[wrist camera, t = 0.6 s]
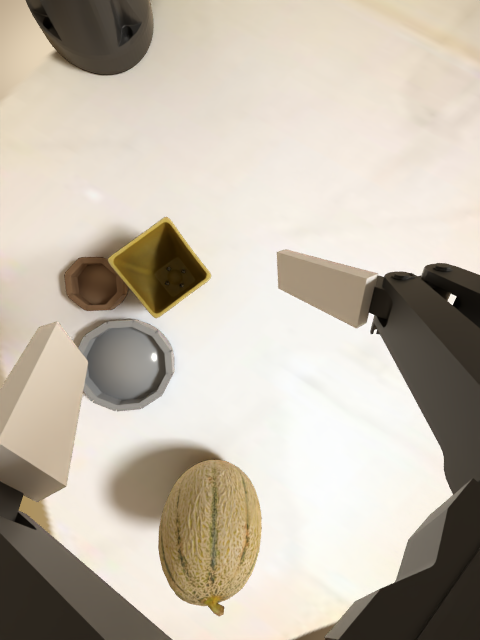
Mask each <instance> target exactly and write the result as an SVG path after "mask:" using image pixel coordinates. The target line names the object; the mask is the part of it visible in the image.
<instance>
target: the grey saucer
mask: <svg viewBox="0 0 480 640" xmlns="http://www.w3.org/2000/svg"><path fill="white" fill-rule="evenodd" d="M78 349H79V350H80V352H81V353H82V354H83V355H84V357H85V358H86V359H87V361H88V366H87V372H86V377H85V383H84V389H83V392H84V393H85V394H86V395H87V397H88V398H89V399H90V400H91V401H93V400H94V401H93V403H96V404H98V405H101V406H103V407H106V408H108V409H111V410H113V411H116V410H117V411H126V410H136V409H141V408H144V407H145V406H147V405H148V404H150V403H151V402H153V401H154V400H156V399H157V398H159V397H160V396H162V395H163V393H164V391H165V389H166V387H167V385H168V383H169V381H170V379H171V377H172V375H173V373H174V353H173V350H172V347H171V345H170V343H169V341H168V340H167V338H166V337H165V336H164V335H163V334H162V333H161V332H160V331H159V330H158V329H156V328H155V327H153V326H152V325H150V324H147V323H145V322H142V321H139V320H136V319H134V320H114V321H108V322H105V323H103V324H102V325H100V326H99V327H97V328H95V329H94V330H92V331H91V332H89V333H87V334H86V335H85V336H84V337H83V339H82V341H81V343H80V345H79V347H78Z"/></svg>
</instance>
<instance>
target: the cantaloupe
mask: <svg viewBox="0 0 480 640" xmlns="http://www.w3.org/2000/svg"><path fill="white" fill-rule="evenodd" d="M261 519H262V518H261V511H260V505H259V501H258V497H257V494H256V491H255V489H254V486H253V485H252V483H251V481H250V479H249V478H248V477H247V475H246V474H245V473H244V472H242V470H240V469H239V468H238V467H236V466H235V465H233V464H231V463H229V462H227V461H222V460H207V461H203V462H200V463H198V464H196V465H194V466H193V467H191V468H189V469H188V470H187V471H186V472H184V473H183V474H182V475H181V477H180V478H179V479H178V480H177V482H176V483H175V484H174V486H173V488H172V490H171V492H170V494H169V496H168V499H167V501H166V504H165V506H164V509H163V513H162V516H161V522H160V526H159V545H158V549H159V556H160V561H161V565H162V569H163V572H164V574H165V576H166V578H167V581H168V583H169V585H170V587H171V588H172V589H173V591H174V592H175V594H176V595H177V596H178V597H179V598H180V599H182V600H183V601H186V602H187V603H189V604H194V605H200V606H207V605H208V607H209V608H210V609H211V610H212V611H213V613H215V614H216V615H218V616H221V615H223V613H224V606H222V605H220V604H218V603H219V602H222V601H225V600H227V599H229V598H230V597H232V596H233V595H235V594H236V593H238V592H239V591H240V590H241V589H242V588H243V586H244V585H245V584H246V582H247V580H248V579H249V577H250V576H251V574H252V572H253V569H254V566H255V563H256V560H257V556H258V553H259V547H260V539H261V529H262V527H261Z"/></svg>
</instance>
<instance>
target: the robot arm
mask: <svg viewBox="0 0 480 640" xmlns="http://www.w3.org/2000/svg"><path fill="white" fill-rule="evenodd" d="M26 2H27V5H28V7H29V9H30V11H31V13H32V15H33V16H34V18H35V20H36V21H37V23H38V25H39V26H40V28H41V29H42V31H43V33H44V34H45V36H46V37H47V39H48V40H49V42H50V43H51V44H52V46H53V47H54V48H55V49H56V50H57V51H58V52H59V53H60V54H61V55H62V56H63V57H64V58H65V59H67V60H68V61H69V62H71V63H72V64H74V65H75V66H77V67H79V68H81V69H84V70H86V71H89V72H93V73H97V74H116V73H120V72H123V71H126V70H128V69H130V68H132V67H133V66H135V65H136V64H137V63H138V62H139V61H140V60H141V59H142V58H143V57H144V55H145V54H146V52H147V50H148V48H149V46H150V43H151V40H152V35H153V14H152V9H151V4H150V0H26ZM277 267H278V288H279V289H281V290H283V291H285V292H287V293H289V294H290V295H292V296H294V297H296V298H298V299H300V300H302V301H304V302H306V303H308V304H310V305H312V306H314V307H316V308H318V309H320V310H322V311H324V312H326V313H328V314H329V315H331V316H333V317H335V318H337V319H339V320H341V321H343V322H345V323H347V324H349V325H351V326H353V327H355V328H358V327H360V326H362V325H364V324H365V323H367V318H368V314H369V313H371V314H374V319H373V323H372V327H371V331H370V333H371V334H373V332H374V330H375V329H377V333H376V334H380V335H381V337H382V339H383V341H384V342H385V344H386V346H387V348H388V350H389V352H390V354H391V355H392V357H393V359H394V361H395V363H396V365H397V367H398V368H399V370H400V372H401V374H402V376H403V378H404V380H405V382H406V383H407V385H408V387H409V389H410V391H411V393H412V395H413V396H414V398H415V400H416V402H417V404H418V406H419V408H420V409H421V411H422V413H423V415H424V417H425V419H426V421H427V423H428V424H429V426H430V428H431V430H432V432H433V434H434V436H435V437H436V439H437V441H438V443H439V445H440V447H441V449H442V451H443V455H444V472H445V476H446V480H447V482H448V484H449V487H450V489H451V491H452V493H453V496H451V497H450V498H449V499H448V500H447V501H446V502H444V503H443V504H442V505H441V506H440V507H439V508H437V509H436V510H435V511H434V512H433V513H432V514H430V515H429V516H428V518H427V519H426V520H425V521H424V522H423V523H422V525H421V526H420V527H419V528H418V529H417V530H416V532H415V533H414V534H413V535H412V536H411V537H410V538H409V540H408V542H407V546H406V549H405V552H404V556H403V559H402V562H401V566H400V569H399V572H398V575H397V579H396V581H395V583H393V584H390V585H388V586H386V587H384V588H381V589H379V590H377V591H375V592H373V593H371V594H369V595H367V596H365V597H363V598H361V599H359V600H357V601H355V602H354V603H353V605H352V606H351V607H350V608H349V609H348V610H347V612H346V613H345V614H344V615H343V616H342V617H341V618H340V620H339V621H338V622H337V623H336V624H335V625H334V627H333V628H332V629H331V630H330V631H329V632H328V634H327V635H326V636H325V637H324V638H325V640H480V275H478V274H475V273H473V272H470V271H467V270H464V269H462V268H459V267H456V266H452V265H449V264H445V263H436V264H430V265H427V266H425V268H424V270H423V273H422V276H416V275H414V274H412V273H407V272H390V273H387V274H386V275H385V276H384V277H382V276H378V273H374V272H370V271H366V270H362V269H359V268H355V267H351V266H347V265H343V264H340V263H336V262H332V261H328V260H324V259H320V258H317V257H313V256H309V255H305V254H301V253H298V252H294V251H290V250H286V249H285V250H282V251H279V252H277ZM450 294H453V295H455V296H457V297H456V299H455V302H454V304H453V306H452V305H451V304H450V303H449V302H448V298H449V296H450ZM87 366H88V361H87V359H86V358H85V357H84V355H83V354H82V353H81V352H80V350H79V349H78V348H77V346H76V345H75V344H74V342H73V341H72V340H71V338H70V337H69V336H68V334H67V333H66V332H65V330H64V329H63V328H62V327H61V325H60V324H59V323H58V321H57V322H54V323H51V324H48V325H44V326H41V327H39V328H38V329H37V331H36V333H35V334H34V336H33V337H32V339H31V341H30V342H29V344H28V345H27V347H26V349H25V350H24V352H23V353H22V355H21V357H20V358H19V360H18V361H17V363H16V365H15V366H14V368H13V369H12V371H11V373H10V374H9V376H8V377H7V379H6V381H5V382H4V384H3V385H2V387H1V389H0V640H172V639H171V638H170V637H169V636H167V635H166V634H165V633H164V632H163V631H162V630H160V629H159V628H158V627H157V626H156V625H155V624H154V623H152V622H151V621H150V620H149V619H148V618H147V617H145V616H144V615H143V614H142V613H141V612H140V611H138V610H137V609H136V608H135V607H134V606H133V605H131V604H130V603H129V602H128V601H127V600H126V599H124V598H123V597H122V596H121V595H120V594H119V593H117V592H116V591H115V590H114V589H113V588H112V587H111V586H109V585H108V584H107V583H106V582H105V581H104V580H102V579H101V578H100V577H99V576H98V575H97V574H95V573H94V572H93V571H92V570H91V569H90V568H88V567H87V566H86V565H85V564H84V563H83V562H81V561H80V560H79V559H78V558H77V557H76V556H74V555H73V554H72V553H71V552H70V551H69V550H68V549H66V548H65V547H64V546H63V545H62V544H61V543H59V542H58V541H57V540H56V539H55V538H54V537H52V536H51V535H50V534H49V533H48V532H46V531H45V530H44V529H43V528H42V527H41V526H40V525H38V524H37V523H36V522H35V521H34V520H33V519H31V518H30V517H29V516H28V515H27V514H25V513H23V512H20V511H18V510H19V507H20V504H21V501H22V497H23V495H24V496H26V497H28V498H30V499H32V500H34V501H36V502H39V501H40V500H42V499H44V498H46V497H48V496H50V495H51V494H53V493H55V492H57V491H59V490H61V489H62V488H64V487H66V486H67V480H68V474H69V469H70V463H71V457H72V451H73V446H74V440H75V434H76V429H77V423H78V417H79V412H80V406H81V400H82V394H83V389H84V383H85V377H86V372H87Z"/></svg>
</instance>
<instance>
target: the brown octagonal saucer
mask: <svg viewBox="0 0 480 640" xmlns="http://www.w3.org/2000/svg"><path fill="white" fill-rule="evenodd" d="M65 274H66V275H64V277H65V285H66V293H67V295H69V296H68V297H69V298H70V299H71V300H72V301H74V302H75V303H76V304H77V305H79V306H80V307H81V308H82V309H84V310H86V311H96V310H113V309H114V308H115V307H116V306H118V305H119V304H121V303H122V302H123V300H124V299H125V297H126V295H127V292H128V286H127V285H126V283H125V282H124V281H123V280H122V279H121V277H120V276H119V275H118V274H117V273H116V271H115V270H114V269H113V268H112V267H111V265H110V264H109V262H108V259H106V258H103V257H80V258H78V260H77V261H76V262H75V263H74V264H73V265H72V266H71V267H70V268H69V269H68V270H67V271H66V272H65Z"/></svg>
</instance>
